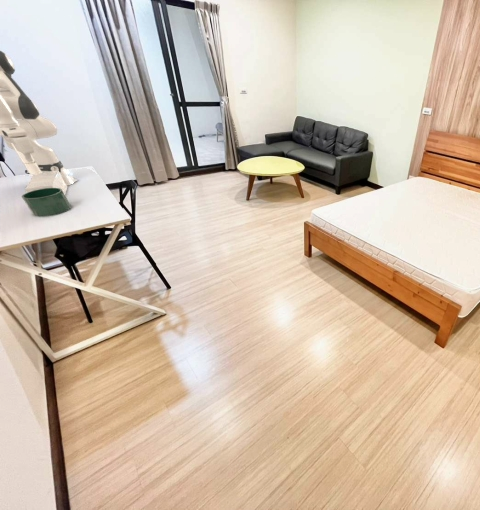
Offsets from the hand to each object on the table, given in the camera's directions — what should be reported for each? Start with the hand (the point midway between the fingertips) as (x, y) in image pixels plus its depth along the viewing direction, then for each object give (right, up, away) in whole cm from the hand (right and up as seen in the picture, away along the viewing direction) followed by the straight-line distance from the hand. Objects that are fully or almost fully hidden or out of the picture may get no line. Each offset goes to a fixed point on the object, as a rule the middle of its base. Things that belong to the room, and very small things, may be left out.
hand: (28, 160), depth 132 cm
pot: (-2, -23, +14) cm, 27 cm away
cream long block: (-18, -12, +29) cm, 36 cm away
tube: (0, -6, +4) cm, 7 cm away
